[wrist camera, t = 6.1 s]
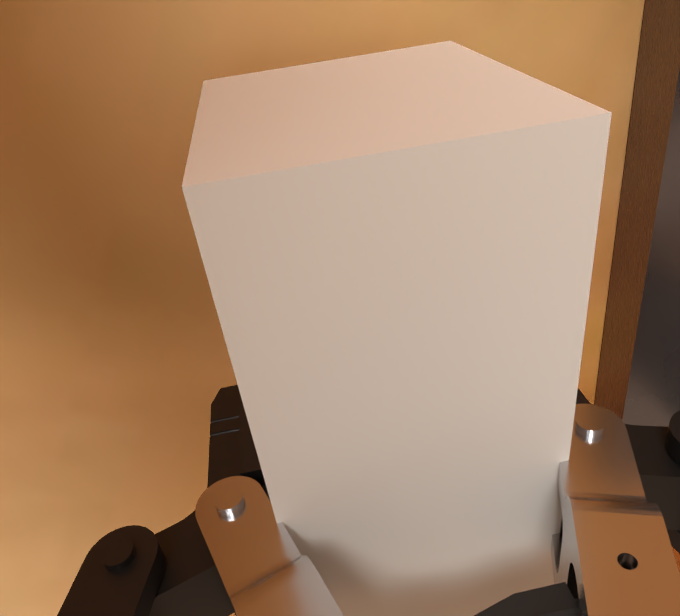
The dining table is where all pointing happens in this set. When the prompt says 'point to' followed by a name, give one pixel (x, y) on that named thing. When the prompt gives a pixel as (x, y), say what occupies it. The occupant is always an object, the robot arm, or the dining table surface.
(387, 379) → the white rectangular block
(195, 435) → the dining table surface
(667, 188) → the stand
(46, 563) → the dining table surface
